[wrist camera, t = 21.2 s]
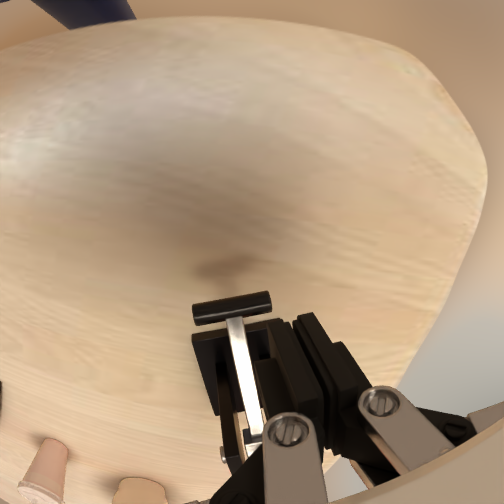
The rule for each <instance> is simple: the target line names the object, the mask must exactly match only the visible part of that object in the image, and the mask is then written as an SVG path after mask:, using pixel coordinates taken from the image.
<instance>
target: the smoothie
mask: <svg viewBox="0 0 504 504" xmlns="http://www.w3.org/2000/svg"><path fill="white" fill-rule="evenodd" d="M67 456H68V449H67V448H66V446H65V445H63V444H62V443H61V442H59V441H57V440H54V439H51V438H47V439H45V440H44V442H43V444H42V445H41V447H40V449H39V451H38V452H37V454H36V456H35V458H34V460H33V461H32V463H31V465H30V467H29V469H28V471H27V473H26V474H25V476H24V478H23V480H22V481H20V482H19V483H18V487H17V490H18V492H19V493H20V494H21V495H22V496H23V497H24V498H25V499H27V500H28V501H30V502H31V503H32V504H65V502H64V501H63V495H64V482H65V473H66V464H67Z"/></svg>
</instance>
